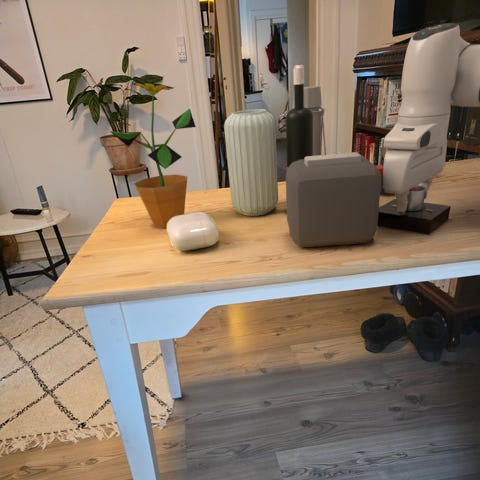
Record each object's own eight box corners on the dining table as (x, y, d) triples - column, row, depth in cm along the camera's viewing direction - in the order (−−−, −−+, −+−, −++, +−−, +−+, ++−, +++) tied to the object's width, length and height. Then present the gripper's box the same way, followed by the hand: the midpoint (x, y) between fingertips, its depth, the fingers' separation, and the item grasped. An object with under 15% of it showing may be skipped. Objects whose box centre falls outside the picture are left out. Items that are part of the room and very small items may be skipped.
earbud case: (173, 258, 80) (169, 232, 77) (167, 237, 91) (162, 213, 88) (224, 249, 82) (221, 223, 79) (211, 229, 93) (208, 206, 90)
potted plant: (213, 228, 93) (194, 75, 78) (130, 241, 91) (93, 86, 75) (202, 207, 108) (184, 76, 93) (131, 218, 106) (100, 85, 90)
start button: (389, 174, 107) (390, 165, 106) (382, 177, 105) (383, 169, 103) (375, 172, 109) (376, 164, 108) (368, 176, 107) (368, 167, 106)
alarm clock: (365, 226, 86) (371, 147, 77) (379, 246, 76) (388, 158, 68) (287, 232, 87) (285, 154, 79) (291, 253, 77) (289, 166, 69)
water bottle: (288, 192, 114) (286, 89, 101) (301, 185, 119) (300, 87, 106) (319, 194, 109) (321, 87, 96) (331, 187, 114) (334, 84, 101)
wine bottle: (316, 212, 97) (317, 63, 81) (293, 216, 95) (290, 65, 80) (306, 206, 101) (305, 64, 86) (284, 210, 100) (280, 66, 85)
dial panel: (448, 220, 85) (451, 204, 83) (428, 235, 79) (431, 218, 77) (393, 211, 92) (394, 197, 90) (371, 225, 86) (372, 210, 84)
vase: (285, 205, 104) (282, 107, 92) (268, 219, 95) (263, 113, 83) (244, 203, 108) (236, 109, 97) (224, 217, 100) (213, 116, 88)
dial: (404, 203, 86) (407, 183, 84) (426, 206, 84) (429, 185, 82) (396, 209, 84) (398, 188, 81) (418, 212, 81) (421, 190, 79)
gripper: (427, 122, 84) (418, 190, 91) (379, 140, 72) (372, 216, 80) (460, 123, 80) (447, 194, 88) (414, 141, 68) (404, 221, 76)
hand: (411, 205), depth 83 cm, fingers open, 7 cm apart
